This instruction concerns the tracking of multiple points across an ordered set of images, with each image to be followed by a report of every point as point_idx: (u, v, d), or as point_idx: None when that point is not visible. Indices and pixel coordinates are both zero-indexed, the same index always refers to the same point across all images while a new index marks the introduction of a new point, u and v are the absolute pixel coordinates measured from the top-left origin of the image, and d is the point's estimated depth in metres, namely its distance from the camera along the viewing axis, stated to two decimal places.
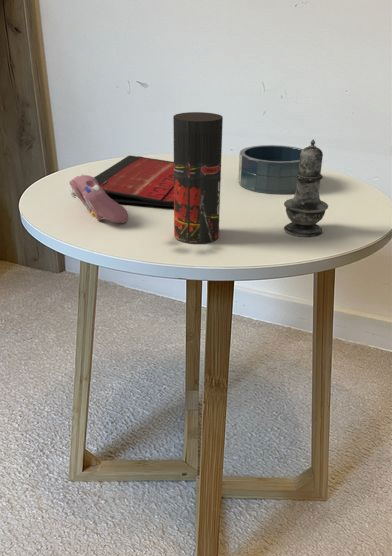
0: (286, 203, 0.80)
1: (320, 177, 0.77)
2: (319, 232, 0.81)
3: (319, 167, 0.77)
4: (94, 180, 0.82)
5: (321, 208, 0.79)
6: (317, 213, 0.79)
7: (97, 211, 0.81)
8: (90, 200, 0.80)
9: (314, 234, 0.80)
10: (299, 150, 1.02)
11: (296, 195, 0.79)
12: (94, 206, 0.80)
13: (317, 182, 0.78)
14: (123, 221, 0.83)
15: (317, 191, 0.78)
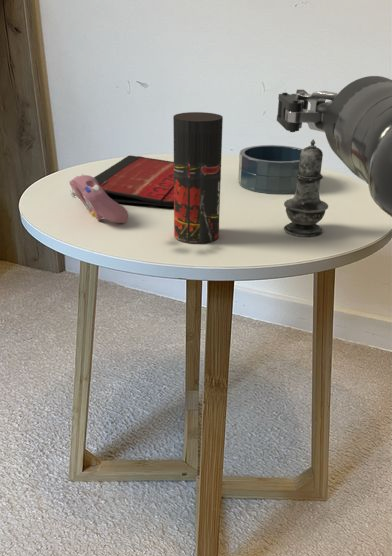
0: (286, 203, 0.80)
1: (320, 177, 0.77)
2: (319, 232, 0.81)
3: (319, 167, 0.77)
4: (94, 180, 0.82)
5: (321, 208, 0.79)
6: (317, 213, 0.79)
7: (97, 211, 0.81)
8: (90, 200, 0.80)
9: (314, 234, 0.80)
10: (299, 150, 1.02)
11: (296, 195, 0.79)
12: (94, 206, 0.80)
13: (317, 182, 0.78)
14: (123, 221, 0.83)
15: (317, 191, 0.78)
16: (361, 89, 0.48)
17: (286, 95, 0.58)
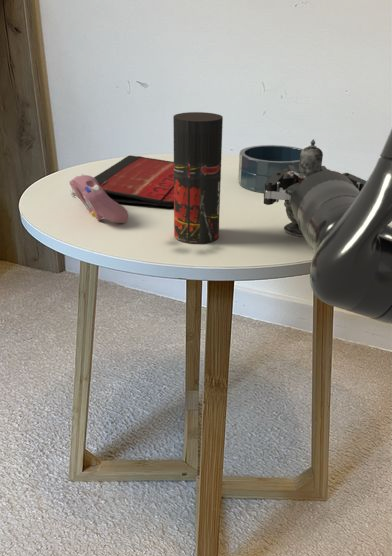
0: None
1: None
2: None
3: (319, 167, 0.77)
4: (94, 180, 0.82)
5: None
6: None
7: (97, 211, 0.81)
8: (90, 200, 0.80)
9: None
10: (299, 150, 1.02)
11: None
12: (94, 206, 0.80)
13: None
14: (123, 221, 0.83)
15: None
16: (316, 185, 0.65)
17: (277, 175, 0.75)
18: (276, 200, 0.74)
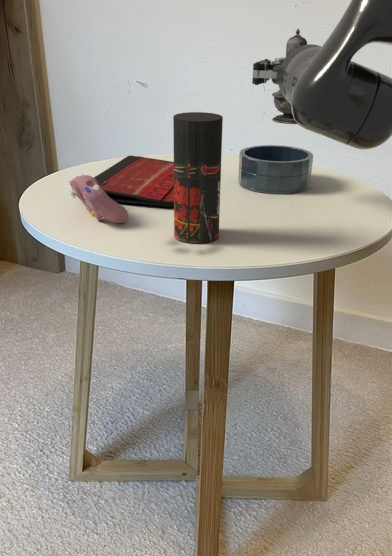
0: (273, 93, 0.86)
1: None
2: None
3: None
4: (94, 180, 0.82)
5: None
6: None
7: (97, 211, 0.81)
8: (90, 200, 0.80)
9: None
10: (299, 150, 1.02)
11: None
12: (94, 206, 0.80)
13: None
14: (123, 221, 0.83)
15: None
16: (299, 52, 0.71)
17: (265, 60, 0.82)
18: (264, 81, 0.80)
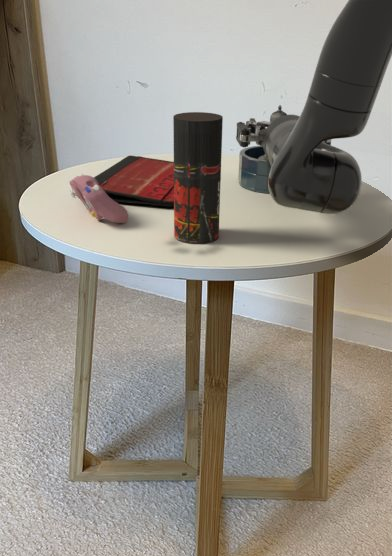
0: (259, 158, 0.99)
1: None
2: None
3: None
4: (94, 180, 0.82)
5: None
6: None
7: (97, 211, 0.81)
8: (90, 200, 0.80)
9: None
10: None
11: None
12: (94, 206, 0.80)
13: None
14: (123, 221, 0.83)
15: None
16: (279, 124, 0.83)
17: (241, 123, 0.93)
18: (249, 143, 0.91)
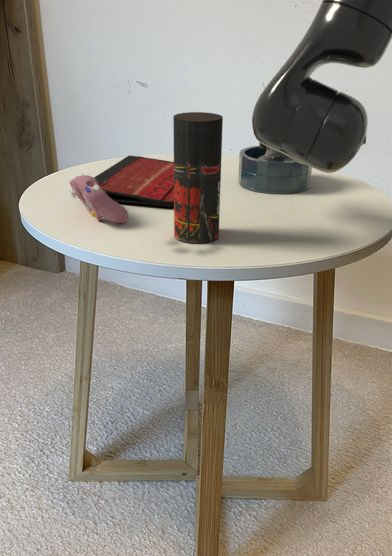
0: (259, 158, 0.99)
1: None
2: None
3: None
4: (94, 180, 0.82)
5: None
6: None
7: (97, 211, 0.81)
8: (90, 200, 0.80)
9: None
10: None
11: (267, 151, 0.98)
12: (94, 206, 0.80)
13: None
14: (123, 221, 0.83)
15: None
16: None
17: None
18: None
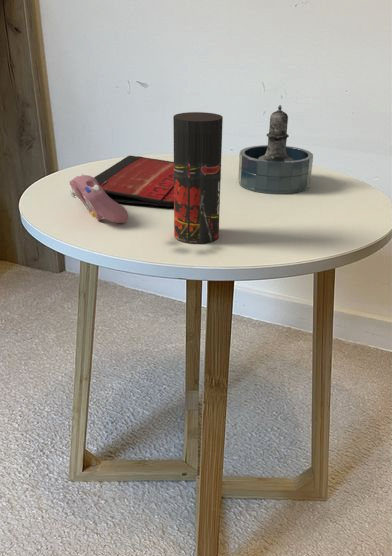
0: (259, 158, 0.99)
1: (286, 136, 0.96)
2: None
3: (285, 127, 0.96)
4: (94, 180, 0.82)
5: None
6: None
7: (97, 211, 0.81)
8: (90, 200, 0.80)
9: None
10: (299, 150, 1.02)
11: (267, 151, 0.98)
12: (94, 206, 0.80)
13: (284, 140, 0.96)
14: (123, 221, 0.83)
15: (284, 147, 0.97)
16: None
17: None
18: None
